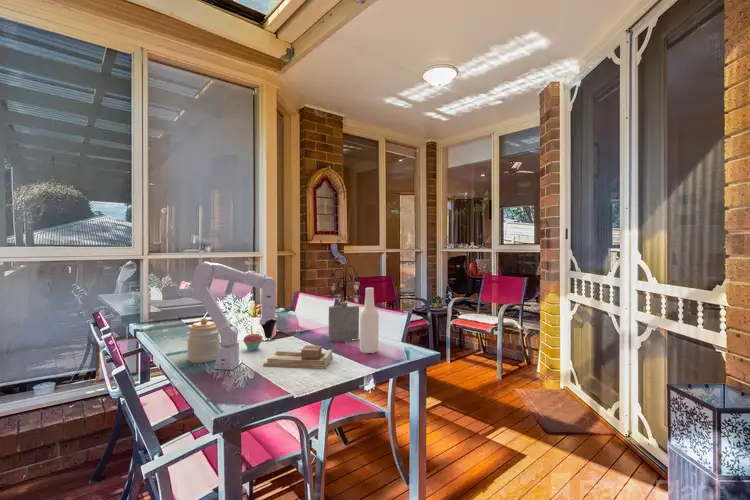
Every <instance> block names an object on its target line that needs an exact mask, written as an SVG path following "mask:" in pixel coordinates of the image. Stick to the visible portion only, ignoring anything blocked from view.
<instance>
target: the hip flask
mask: <svg viewBox="0 0 750 500" xmlns="http://www.w3.org/2000/svg"><path fill="white" fill-rule="evenodd" d="M348 303H349V302H348V301H341V302H340V304H341V305H334V306H328V341H329V342H345V341H344V340H350V341H353V340H352V339H358V338H359V339H360V306H359V305H349V306H348ZM359 339H358V340H359Z"/></svg>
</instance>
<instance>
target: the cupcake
mask: <svg viewBox="0 0 750 500" xmlns="http://www.w3.org/2000/svg"><path fill="white" fill-rule="evenodd" d="M262 341H263V337H262V336H261V335H260V334H257V333H253V326H252V325H250V334H247V335H245V337H244V338H243V343H244V344H245V346H246V348H247V349H246V350H247V351H250V352H251V351H253V352H254V351H257V350H258V349H259V347H260V344H261V343H262Z"/></svg>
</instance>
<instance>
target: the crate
mask: <svg viewBox="0 0 750 500" xmlns="http://www.w3.org/2000/svg"><path fill="white" fill-rule="evenodd" d="M322 347H323V346H322V345H314V344H313V345H312V344H311V345H309V344H306V345H305V346H304V347H302V349H301V351H300V352H301V359H302V360H320V359H321V357H322V353H323V351H322V349H323V348H322Z"/></svg>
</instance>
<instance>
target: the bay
mask: <svg viewBox="0 0 750 500" xmlns="http://www.w3.org/2000/svg"><path fill="white" fill-rule="evenodd" d="M332 360H333V349H328V350H327V351H326V352H322V357H321V359H320V360H302V359H301V351H284V350H283V351H282V350H276V351H275V352H274V354H273V355H271V357H268V358H266V360H265V362H263V363H262V364H263V365H262V366H263V367H276V366H279V367H281V368H299V367H304V368H305V369H322V368H326V369H327V367H328V366H329V364H330V363H331V361H332ZM329 362H330V363H329ZM327 365H328V366H327Z"/></svg>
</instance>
